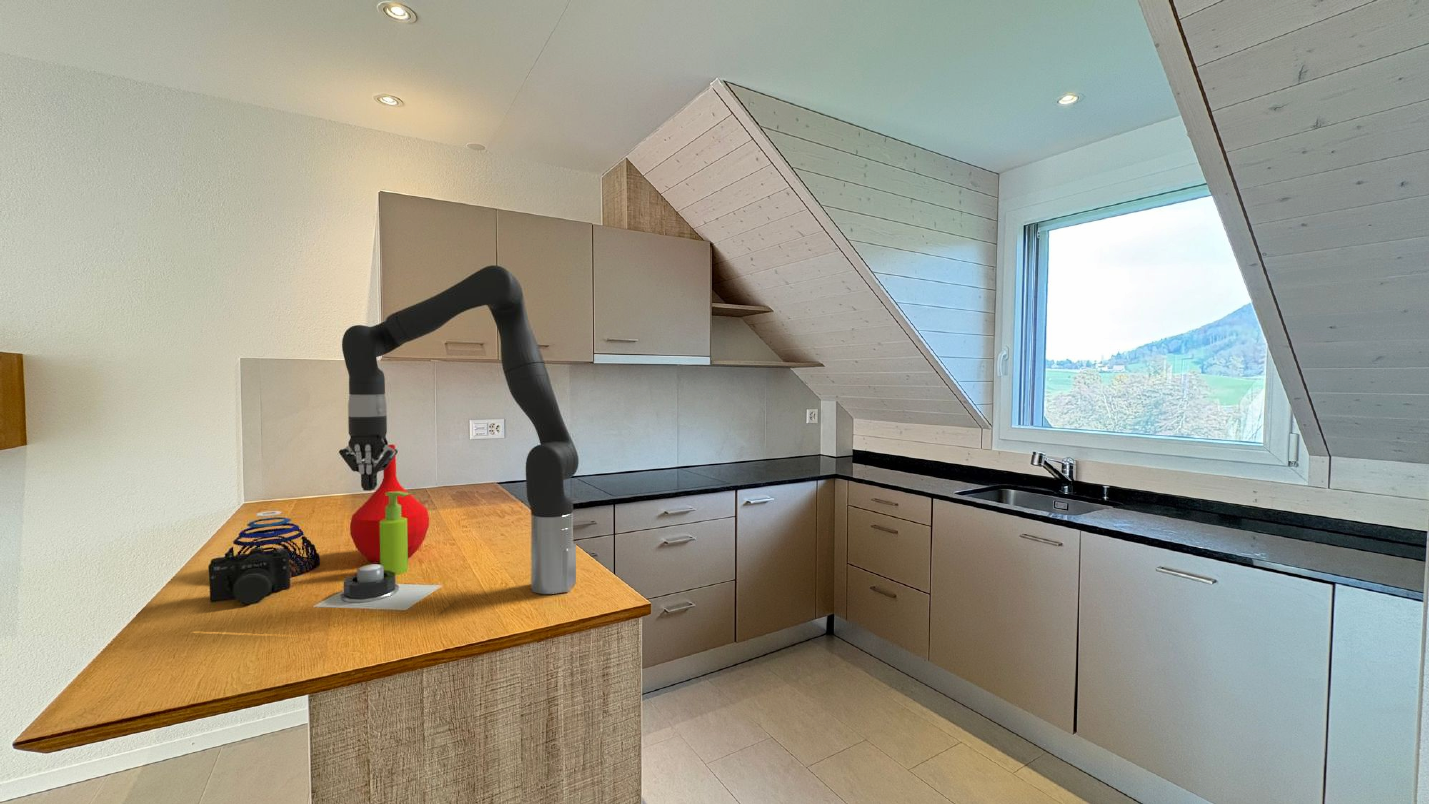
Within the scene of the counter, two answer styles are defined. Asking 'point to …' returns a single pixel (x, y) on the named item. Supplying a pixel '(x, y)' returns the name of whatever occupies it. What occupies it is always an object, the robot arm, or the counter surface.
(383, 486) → the vase
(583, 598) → the counter surface
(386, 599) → the mat
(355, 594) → the black faceted bowl
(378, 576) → the cap
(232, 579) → the camera
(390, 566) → the soap dispenser
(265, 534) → the decorative bowl
